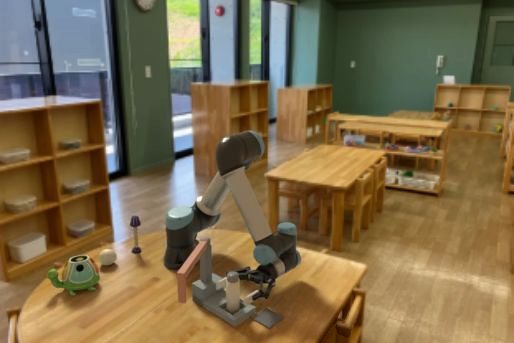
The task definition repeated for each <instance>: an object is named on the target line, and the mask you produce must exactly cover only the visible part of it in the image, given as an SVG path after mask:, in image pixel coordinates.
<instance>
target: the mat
mask: <svg viewBox="0 0 514 343" xmlns="http://www.w3.org/2000/svg"><path fill="white" fill-rule="evenodd" d="M250 317H251V318H250V319H252V320H253V321H255V322H256V323H258V324H260V325H261V326H263V327H265V328H267V329H268V330H270V329H271V328H273V327H275V325H277V324H278V323H280V322H281V321H282V320H284V319H285V316H284V315H282V314H280V313H278V312H277V311H275V310H273V309H271V308H269V307H265V308H263V309H262V310H260V311H258V312H257V313H255V314H253V315H252V316H250Z"/></svg>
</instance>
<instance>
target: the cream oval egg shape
mask: <svg viewBox="0 0 514 343" xmlns="http://www.w3.org/2000/svg"><path fill="white" fill-rule="evenodd" d="M117 258H118V257H117V252H115V250H113V249H110V248H106V249H102V250H101V251H100V253H99V254H98V261H99V263H100V264H101V265H102V266H106V267H107V266H111V265H113V263H115V262H116V261H117V260H118V259H117Z"/></svg>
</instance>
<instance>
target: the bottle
mask: <svg viewBox="0 0 514 343" xmlns="http://www.w3.org/2000/svg"><path fill="white" fill-rule="evenodd" d="M240 284H241V283H240V279H239V274H238V273H237V272H229V273H227V279H226V286H225V290H226V309H225V311H227V312H229V313H230V314H232V315H234V314H235V313H237V312H238V311H240V308H239V299H241V298H240V287H241V286H240Z"/></svg>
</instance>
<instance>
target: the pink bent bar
mask: <svg viewBox="0 0 514 343" xmlns="http://www.w3.org/2000/svg"><path fill="white" fill-rule="evenodd" d="M199 239H200V241H199V243H198V244H197V245H196V248H195V249H194V251H193V252H192V253H191V255H190V256H189V257H188V259H187V260H186V261H185V263H184V264H183V265H182V267H181V268H180V270H177V272H176V276H177V277H176V278H177V279H176V280H177V300H178V304H186V303H187V277H188V276H189V274H190V273H191V272H192V270H193V269H194V267H195V266H196V265H195V264H196V263H197V261H198V260H199V261H200V257H201V256H202V254H203V253H204V251H205V250H206V248H207V247H210V246H211V247H212V244H211V237H209V236H202V237H200V238H199Z"/></svg>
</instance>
